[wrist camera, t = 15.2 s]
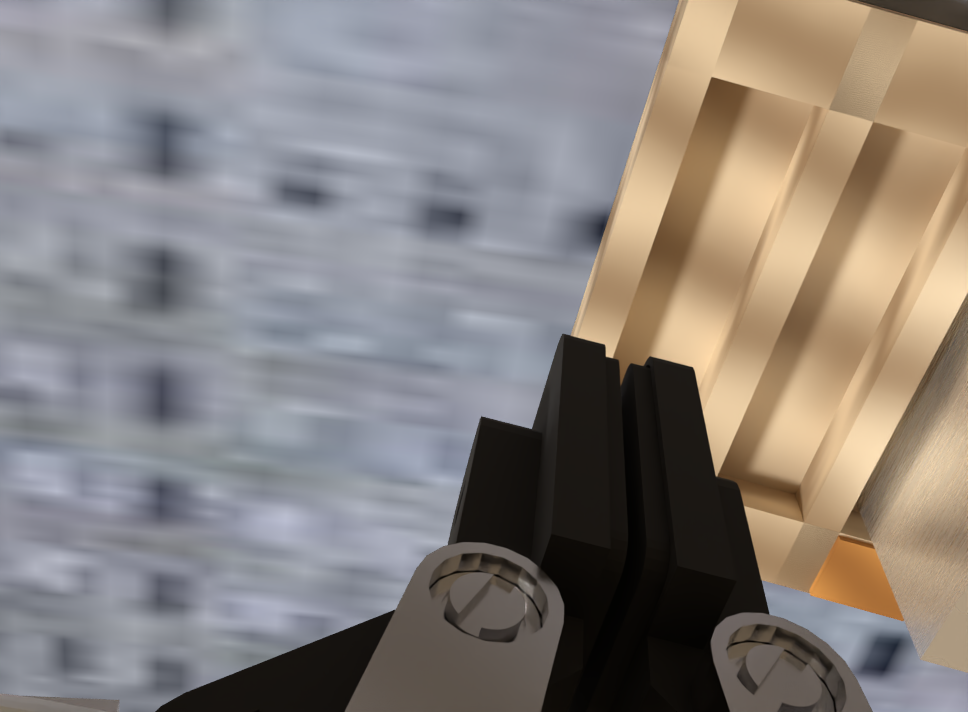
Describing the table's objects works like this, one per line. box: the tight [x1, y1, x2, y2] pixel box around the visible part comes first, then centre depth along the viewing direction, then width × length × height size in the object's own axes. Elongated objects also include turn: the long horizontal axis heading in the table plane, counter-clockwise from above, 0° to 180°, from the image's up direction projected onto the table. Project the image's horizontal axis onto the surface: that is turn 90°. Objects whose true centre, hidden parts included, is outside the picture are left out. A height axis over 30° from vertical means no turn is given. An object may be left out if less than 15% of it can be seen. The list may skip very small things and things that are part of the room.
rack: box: [571, 0, 968, 621], centre depth 35 cm, size 22×18×3 cm
